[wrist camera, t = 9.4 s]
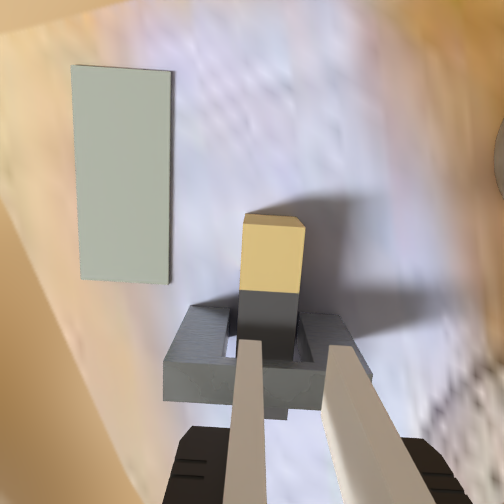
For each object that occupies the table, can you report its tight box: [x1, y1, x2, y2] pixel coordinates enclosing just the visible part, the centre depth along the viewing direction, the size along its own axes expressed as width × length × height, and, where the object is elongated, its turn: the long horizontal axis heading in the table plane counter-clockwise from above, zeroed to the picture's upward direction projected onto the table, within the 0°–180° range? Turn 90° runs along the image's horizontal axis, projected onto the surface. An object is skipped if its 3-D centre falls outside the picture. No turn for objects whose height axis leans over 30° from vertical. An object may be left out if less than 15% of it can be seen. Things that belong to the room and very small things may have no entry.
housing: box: [163, 306, 373, 411], centre depth 29 cm, size 3×14×10 cm, turn 86°
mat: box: [71, 65, 171, 285], centre depth 31 cm, size 18×8×1 cm, turn 176°
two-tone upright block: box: [236, 214, 305, 420], centre depth 31 cm, size 16×4×6 cm, turn 177°
